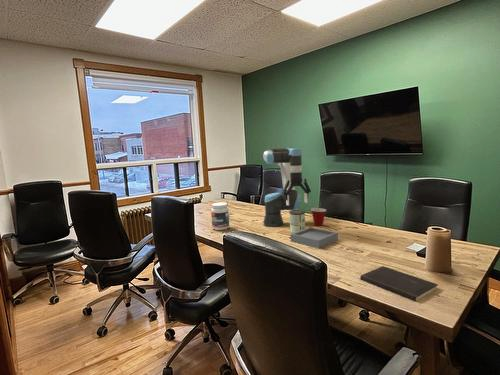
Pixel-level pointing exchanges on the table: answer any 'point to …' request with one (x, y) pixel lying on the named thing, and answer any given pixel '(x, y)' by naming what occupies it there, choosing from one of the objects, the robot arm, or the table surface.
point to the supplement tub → (220, 216)
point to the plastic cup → (318, 216)
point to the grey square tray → (314, 237)
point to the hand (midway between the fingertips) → (296, 204)
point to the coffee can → (297, 220)
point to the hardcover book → (399, 283)
